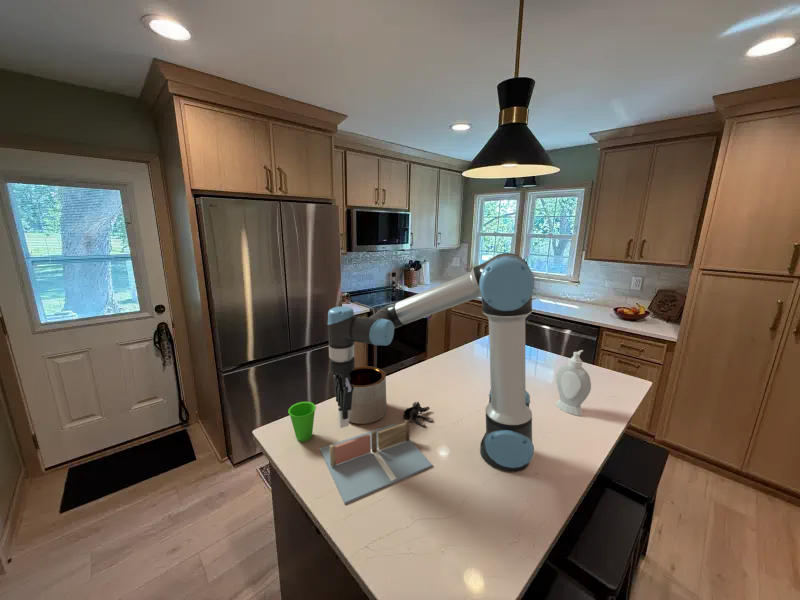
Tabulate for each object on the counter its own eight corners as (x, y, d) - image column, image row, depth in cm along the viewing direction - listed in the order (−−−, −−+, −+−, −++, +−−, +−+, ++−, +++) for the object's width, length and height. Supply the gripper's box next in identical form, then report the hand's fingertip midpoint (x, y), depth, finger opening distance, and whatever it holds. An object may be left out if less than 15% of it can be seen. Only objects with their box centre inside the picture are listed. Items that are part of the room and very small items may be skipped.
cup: (290, 448, 106) (287, 418, 103) (291, 431, 114) (288, 403, 112) (318, 443, 108) (316, 414, 106) (317, 427, 117) (315, 399, 114)
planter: (390, 422, 119) (389, 384, 116) (341, 428, 116) (339, 389, 112) (382, 398, 136) (382, 364, 132) (340, 402, 133) (338, 367, 129)
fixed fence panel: (410, 441, 109) (410, 421, 107) (373, 455, 102) (372, 434, 101) (407, 438, 110) (408, 419, 109) (371, 452, 104) (370, 431, 102)
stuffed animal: (416, 429, 114) (400, 399, 120) (407, 440, 120) (393, 411, 127) (441, 418, 120) (425, 390, 127) (431, 429, 127) (416, 402, 133)
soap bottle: (591, 412, 125) (601, 354, 120) (583, 420, 121) (592, 360, 115) (558, 399, 135) (565, 344, 130) (549, 405, 131) (556, 349, 125)
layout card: (432, 466, 98) (432, 464, 98) (344, 504, 85) (344, 502, 84) (395, 424, 118) (395, 422, 118) (319, 449, 105) (319, 447, 105)
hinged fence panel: (369, 449, 103) (368, 432, 102) (371, 452, 102) (370, 435, 100) (329, 463, 97) (328, 445, 96) (331, 467, 96) (330, 448, 94)
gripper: (361, 363, 94) (362, 433, 99) (346, 348, 105) (348, 412, 110) (336, 368, 90) (339, 441, 96) (323, 352, 101) (326, 418, 107)
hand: (344, 425), depth 103 cm, fingers closed
